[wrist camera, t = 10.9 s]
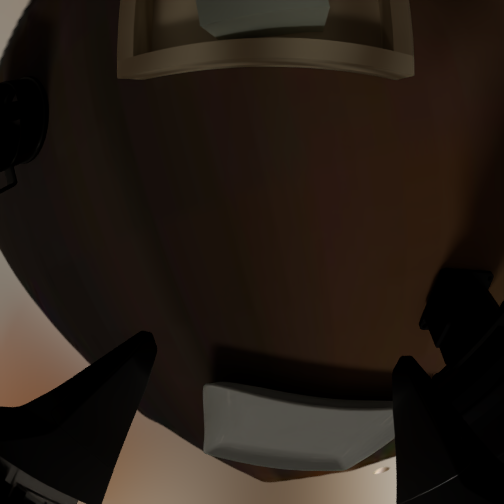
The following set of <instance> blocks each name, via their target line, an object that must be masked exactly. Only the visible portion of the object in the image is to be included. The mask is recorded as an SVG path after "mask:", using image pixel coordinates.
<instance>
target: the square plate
mask: <svg viewBox="0 0 504 504" xmlns="http://www.w3.org/2000/svg"><path fill="white" fill-rule="evenodd" d="M203 409H204V428H205V434H204V449H203V450H204V453H205V454H208V455H211V456H216V457H220V458H224V459H229V460H233V461H237V462H242V463H247V464H252V465H258V466H264V467H271V468H280V469H290V470H307V471H342V470H346V469H348V468H350V467H352V466H353V465H355V464H357V463H358V462H360V461H362V460H363V459H365V458H367V457H368V456H370V455H371V454H373V453H374V452H376V451H377V450H379V449H380V448H382V447H383V446H384V445H386V444H387V443H389V442H390V441H391V440H392V439H394V438H395V433H394V421H393V401H378V400H344V399H331V398H321V397H313V396H306V395H300V394H294V393H288V392H282V391H277V390H272V389H267V388H262V387H256V386H251V385H245V384H239V383H233V382H215V383H207V384H205V385H204V387H203Z"/></svg>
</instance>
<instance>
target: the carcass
mask: <svg viewBox="0 0 504 504" xmlns="http://www.w3.org/2000/svg"><path fill="white" fill-rule="evenodd" d="M328 1H329V5H330V9H329V12H328V16H327V19H326V23H325V26H324V30H323V31H320V32H304V33H292V34H283V35H275V36H267V37H261V38H244V39H230V40H218V39H217V38H216V37H214V36H213V35H212V34H210V33H209V32H207V31H206V30H205V29H203V28H202V27H201V26H200V22H199V16H198V10H197V5H196V0H121V1H120V11H119V25H118V46H117V78H123V79H139V80H144V79H149V78H154V77H160V76H165V75H171V74H178V73H184V72H192V71H200V70H209V69H221V68H235V67H304V68H318V69H329V70H339V71H347V72H354V73H361V74H367V75H373V76H378V77H384V78H389V79H393V80H398V79H402V78H406V77H411V76H414V48H413V33H412V22H411V13H410V5H409V0H328Z"/></svg>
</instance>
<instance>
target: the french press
mask: <svg viewBox="0 0 504 504" xmlns="http://www.w3.org/2000/svg"><path fill="white" fill-rule="evenodd" d="M15 94H16V96H17V99H18V101H15V102H11V101H12V99H13V97H14V96H15ZM18 119H20V136H19V142H18V147H17V150H16V149H15V148H14V147H13V146H12V144H11V142H10V140H9V137H8V132H7V122H11V121H14V120H18ZM47 126H48V102H47V97H46V93H45V90H44V88H43V86H42V84H41V82H40V81H39V80H38V79H36V78H34V77H31V76H26V77H23V78H20V79H19V80H11V81H5V82H2V83H0V172H2V171H5V175H6V180H7V186H6V187H4V188H2V189H0V193H2V192H4V191H6V190H8V189H10V188H12V187H14V186H15V185H16V184H17V179H16V175H15V170H14V166H16V165H18V164H25V163H28V162H30V161H32V160H33V159H34V158H35V157H36V156H37V155H38V154H39V152H40V150H41V148H42V146H43V143H44V140H45V136H46V132H47Z"/></svg>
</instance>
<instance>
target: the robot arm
mask: <svg viewBox="0 0 504 504" xmlns="http://www.w3.org/2000/svg"><path fill="white" fill-rule="evenodd" d="M444 274H446V275H445V276H444ZM493 277H494V276H493V274H492V272H490V271H480V270H466V269H453V268H444V269H442V270H441V271H440V273H439V276H438V279H437V281H436V284H435V287H434V289H433V292H432V293H431V296H430V298H429V301H428V303H427V305H426V308H425V310H424V312H423V316H422V318H421V320H420V322H419V326H420V329H422V330H429V331H430V334H431V336H432V339H433V341H434V344H435V346H436V348H440V351H441V353H442V356H443V359H444V361H445V364H446V366H445V367H444V368H443V369H442V370H441V371H440V372H439V373H436V374H435V375H434V376H433V377H432V379H431V378H430V377H429V375H428V374H427V373H426V372H425V371H424V370H423V368H422V367H421V366H420V365H419V364H418V363H417V361H416V360H415V359H414V358H413V357H412V356H401V357H400V358H399V360H398V362H397V364H396V366H395V368H394V370H393V373H392V388H393V421H394V433H395V447H396V470H397V501H396V502H397V504H504V301H503V302H502V303H501V305H500V307H499V305H498V304H497V302H496V301H495V299H494V298H493V296H492V295H491V293H490V292H489V291H488V289H489V287H490V284H491V282H492V280H493ZM156 354H157V346H156V343H155V340H154V337H153V334H152V333H151V332H147V331H140V332H139V333H137V334H136V335H134V336H133V337H131V338H130V339H128V340H127V341H125V342H124V343H122V344H121V345H119V346H118V347H116V348H115V349H113V350H112V351H110V352H109V353H108V354H106V355H105V356H103V357H102V358H100V359H99V360H97V361H96V362H94V363H93V364H91V365H90V366H88V367H87V368H85V369H84V370H83V371H81V372H79V373H78V374H76V375H75V376H74V377H73V378H71V379H69V380H67V381H66V382H65V383H63V384H61V385H60V386H58V387H57V388H55V389H53V390H51V391H49V392H48V393H46V394H44V395H42V396H40V397H38V398H36V399H34V400H33V401H31V402H29V403H27V404H25V405H22V406H19V407H0V504H77V502H78V500H79V501H81V502H84V503H86V504H102V501H103V499H104V496H105V493H106V490H107V487H108V484H109V481H110V479H111V476H112V473H113V469H114V467H115V465H116V462H117V459H118V457H119V454H120V451H121V449H122V446H123V444H124V441H125V438H126V436H127V433H128V431H129V428H130V426H131V423H132V421H133V418H134V416H135V413H136V411H137V408H138V406H139V404H140V401H141V399H142V396H143V394H144V392H145V389H146V387H147V384H148V380H149V377H150V374H151V370H152V367H153V363H154V360H155V357H156Z"/></svg>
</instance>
